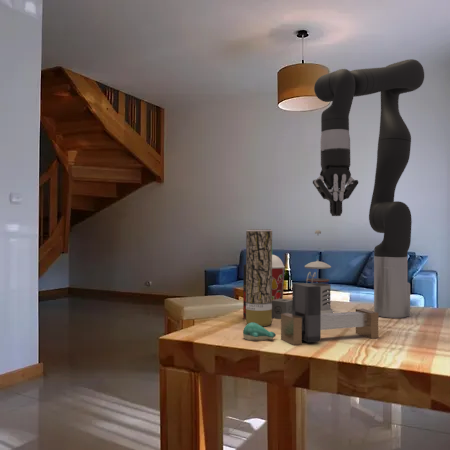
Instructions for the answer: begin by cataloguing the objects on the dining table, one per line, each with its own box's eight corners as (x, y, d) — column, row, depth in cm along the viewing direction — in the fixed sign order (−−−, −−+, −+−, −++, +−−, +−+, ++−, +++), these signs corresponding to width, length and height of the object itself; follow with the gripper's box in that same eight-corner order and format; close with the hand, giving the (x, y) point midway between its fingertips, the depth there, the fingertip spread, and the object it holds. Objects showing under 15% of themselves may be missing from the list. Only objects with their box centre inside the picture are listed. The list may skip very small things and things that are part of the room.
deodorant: (241, 316, 135) (242, 264, 136) (262, 316, 136) (262, 264, 136) (244, 320, 129) (244, 265, 130) (266, 320, 130) (266, 265, 130)
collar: (303, 334, 111) (303, 282, 111) (320, 341, 104) (320, 286, 104) (292, 335, 110) (292, 283, 110) (308, 342, 103) (308, 286, 103)
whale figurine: (248, 335, 112) (248, 319, 112) (278, 338, 109) (278, 322, 109) (239, 341, 107) (239, 324, 107) (270, 344, 104) (270, 326, 104)
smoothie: (287, 309, 148) (287, 245, 148) (281, 314, 140) (281, 246, 140) (261, 308, 151) (261, 245, 151) (254, 312, 143) (254, 245, 143)
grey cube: (286, 320, 131) (286, 302, 131) (270, 318, 134) (270, 300, 134) (294, 317, 135) (294, 300, 135) (279, 315, 138) (279, 298, 138)
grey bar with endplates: (362, 332, 115) (362, 308, 115) (378, 337, 110) (378, 312, 110) (280, 339, 108) (281, 313, 108) (293, 345, 102) (293, 318, 102)
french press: (338, 310, 147) (338, 229, 148) (325, 315, 138) (325, 229, 138) (308, 307, 153) (309, 229, 153) (293, 312, 143) (294, 229, 143)
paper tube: (270, 327, 120) (270, 229, 121) (243, 326, 122) (244, 229, 122) (273, 322, 127) (273, 229, 127) (247, 321, 128) (248, 229, 129)
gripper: (348, 152, 129) (349, 216, 129) (305, 150, 124) (306, 216, 124) (365, 148, 122) (366, 215, 122) (321, 145, 117) (321, 215, 117)
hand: (336, 215), depth 123 cm, fingers closed
